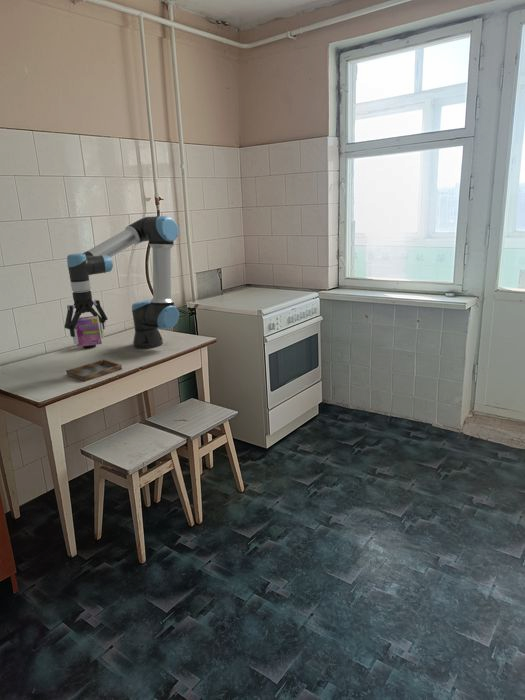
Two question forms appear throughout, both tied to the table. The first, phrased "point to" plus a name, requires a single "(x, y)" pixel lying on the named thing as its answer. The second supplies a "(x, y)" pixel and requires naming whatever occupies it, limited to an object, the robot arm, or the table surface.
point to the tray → (93, 370)
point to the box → (88, 331)
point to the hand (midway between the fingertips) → (89, 340)
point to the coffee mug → (89, 347)
